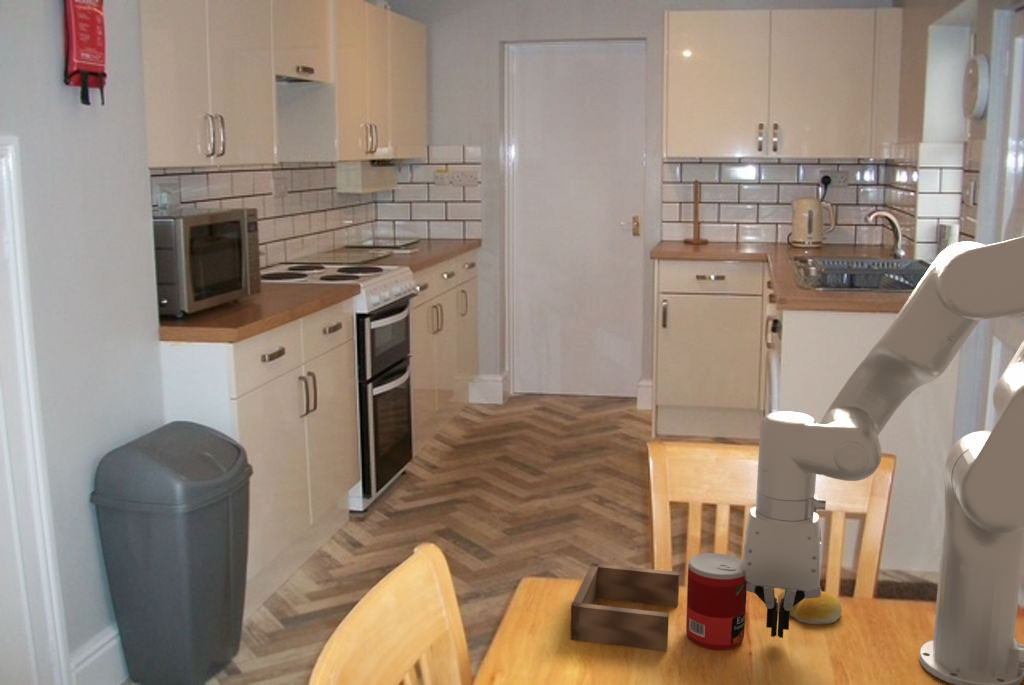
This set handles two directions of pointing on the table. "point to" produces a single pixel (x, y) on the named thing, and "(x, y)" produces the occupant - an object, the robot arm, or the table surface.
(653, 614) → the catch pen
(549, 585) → the table surface
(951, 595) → the robot arm
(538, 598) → the table surface
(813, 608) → the bread roll
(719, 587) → the canned food
